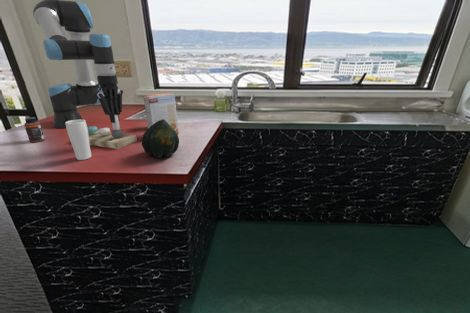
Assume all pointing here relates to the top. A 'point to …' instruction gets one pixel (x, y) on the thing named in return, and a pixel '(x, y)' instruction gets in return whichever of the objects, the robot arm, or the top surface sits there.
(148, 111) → the cracker box
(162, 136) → the squash
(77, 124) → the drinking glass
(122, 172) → the top surface
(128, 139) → the button panel
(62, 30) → the robot arm
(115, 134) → the grey button
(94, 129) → the teal button
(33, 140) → the supplement bottle
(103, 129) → the white button
